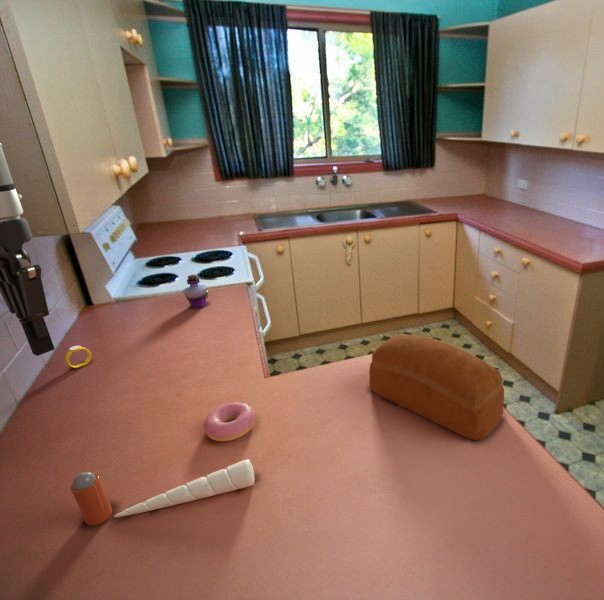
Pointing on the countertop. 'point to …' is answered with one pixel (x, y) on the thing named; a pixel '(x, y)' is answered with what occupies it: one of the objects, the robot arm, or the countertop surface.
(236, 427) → the doughnut
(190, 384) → the countertop surface
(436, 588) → the countertop surface
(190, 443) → the countertop surface
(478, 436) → the bread
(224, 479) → the unicorn horn
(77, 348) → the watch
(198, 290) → the potion bottle
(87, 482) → the salt shaker
